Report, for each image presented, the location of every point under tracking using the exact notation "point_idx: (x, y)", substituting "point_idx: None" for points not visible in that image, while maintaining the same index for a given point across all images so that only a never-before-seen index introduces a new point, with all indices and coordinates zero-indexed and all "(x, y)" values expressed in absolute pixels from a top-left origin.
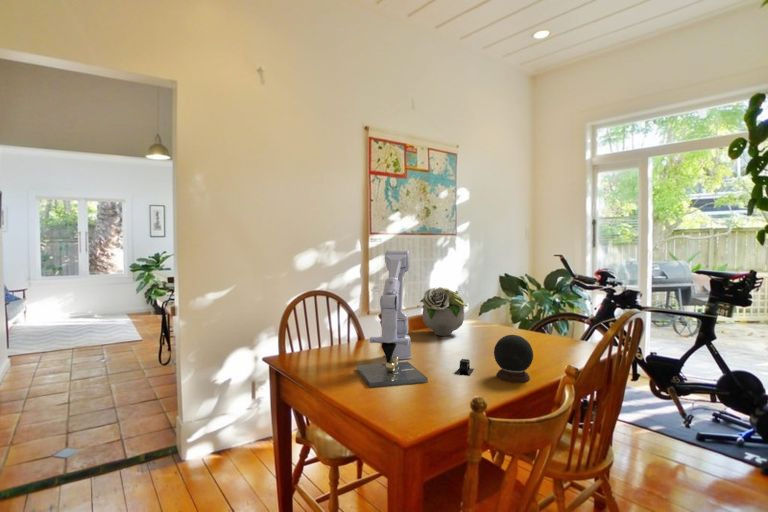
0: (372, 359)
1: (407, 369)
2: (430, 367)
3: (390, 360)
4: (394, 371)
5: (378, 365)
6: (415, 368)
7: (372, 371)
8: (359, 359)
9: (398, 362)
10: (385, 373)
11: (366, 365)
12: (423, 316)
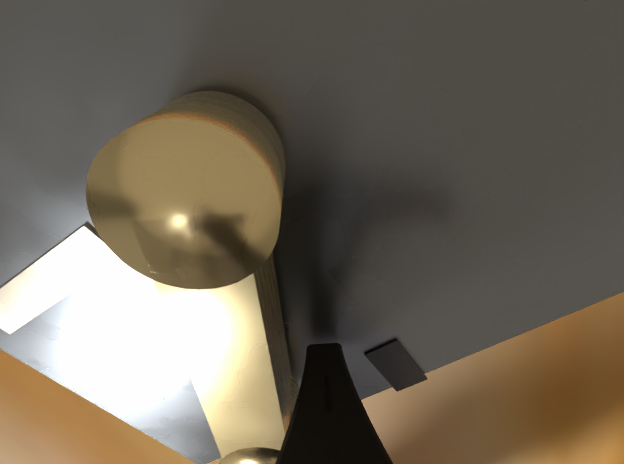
0: (510, 458)
1: (51, 289)
2: (23, 439)
3: (263, 353)
4: None
5: (443, 318)
6: (7, 347)
7: (503, 49)
8: (615, 438)
9: None
10: (250, 7)
11: (594, 280)
12: None
